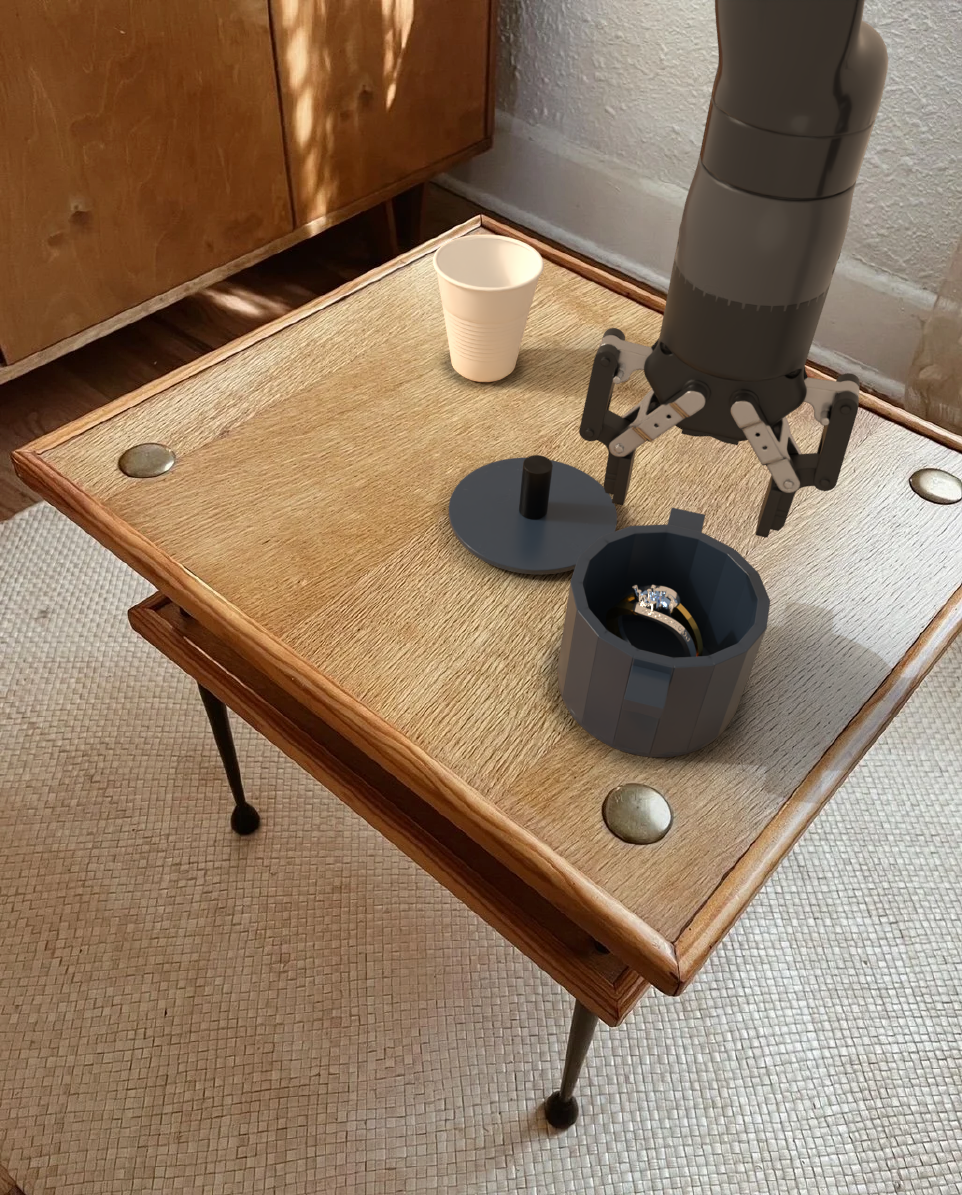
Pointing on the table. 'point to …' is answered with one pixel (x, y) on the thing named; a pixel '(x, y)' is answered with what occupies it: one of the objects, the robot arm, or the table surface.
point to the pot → (660, 638)
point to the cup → (486, 301)
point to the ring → (657, 615)
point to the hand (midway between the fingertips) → (691, 512)
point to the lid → (530, 514)
